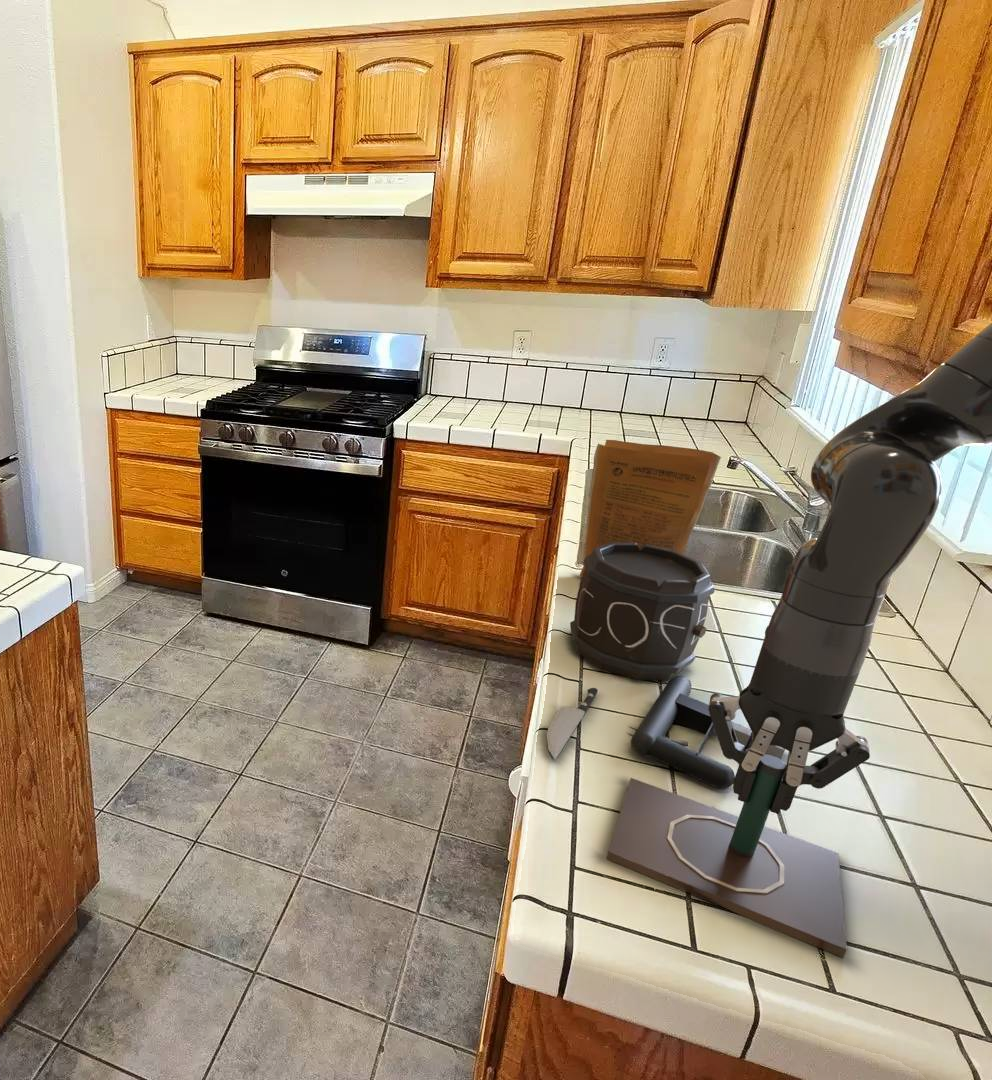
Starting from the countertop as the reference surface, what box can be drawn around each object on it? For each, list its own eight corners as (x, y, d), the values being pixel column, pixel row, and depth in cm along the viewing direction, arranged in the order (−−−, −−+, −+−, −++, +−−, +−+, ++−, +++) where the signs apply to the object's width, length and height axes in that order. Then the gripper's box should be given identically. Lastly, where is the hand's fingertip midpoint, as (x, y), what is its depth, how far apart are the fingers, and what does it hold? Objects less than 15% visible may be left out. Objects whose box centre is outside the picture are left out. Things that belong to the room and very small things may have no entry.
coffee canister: (660, 700, 105) (688, 599, 99) (545, 647, 118) (564, 554, 112) (714, 662, 116) (742, 568, 110) (604, 617, 128) (624, 531, 123)
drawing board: (835, 860, 78) (839, 852, 78) (843, 958, 67) (847, 949, 67) (628, 784, 88) (631, 776, 87) (606, 858, 77) (608, 850, 76)
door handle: (795, 719, 98) (665, 667, 107) (770, 796, 83) (622, 729, 92) (786, 739, 99) (658, 686, 108) (760, 819, 85) (614, 750, 94)
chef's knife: (530, 752, 93) (554, 761, 91) (531, 744, 92) (555, 753, 91) (576, 687, 107) (598, 693, 105) (577, 680, 107) (599, 686, 105)
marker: (754, 847, 78) (786, 760, 74) (754, 861, 76) (786, 772, 72) (729, 837, 79) (759, 751, 75) (728, 851, 77) (758, 763, 73)
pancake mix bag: (678, 610, 132) (720, 456, 122) (566, 582, 142) (597, 436, 131) (683, 597, 137) (723, 448, 127) (575, 570, 147) (604, 430, 137)
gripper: (723, 644, 69) (677, 795, 76) (911, 695, 63) (844, 856, 69) (728, 615, 75) (685, 757, 82) (901, 658, 69) (839, 809, 75)
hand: (758, 802), depth 75 cm, fingers closed on marker, 2 cm apart
